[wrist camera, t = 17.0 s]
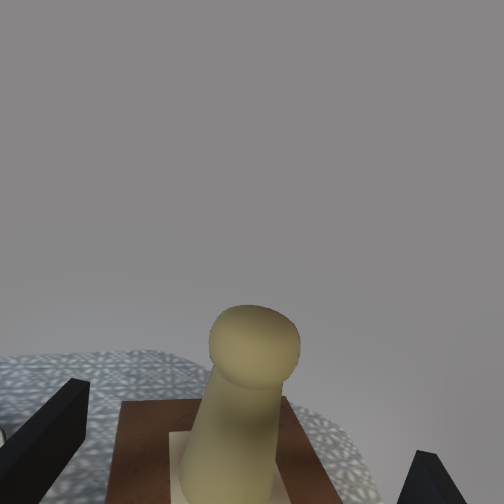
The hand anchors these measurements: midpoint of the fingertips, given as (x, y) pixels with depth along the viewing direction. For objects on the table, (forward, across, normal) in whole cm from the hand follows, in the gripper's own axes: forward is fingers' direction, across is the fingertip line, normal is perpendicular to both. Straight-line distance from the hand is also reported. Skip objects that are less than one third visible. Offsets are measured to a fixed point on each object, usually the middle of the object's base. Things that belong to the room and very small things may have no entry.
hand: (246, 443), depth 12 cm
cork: (+6, 0, -8) cm, 10 cm away
